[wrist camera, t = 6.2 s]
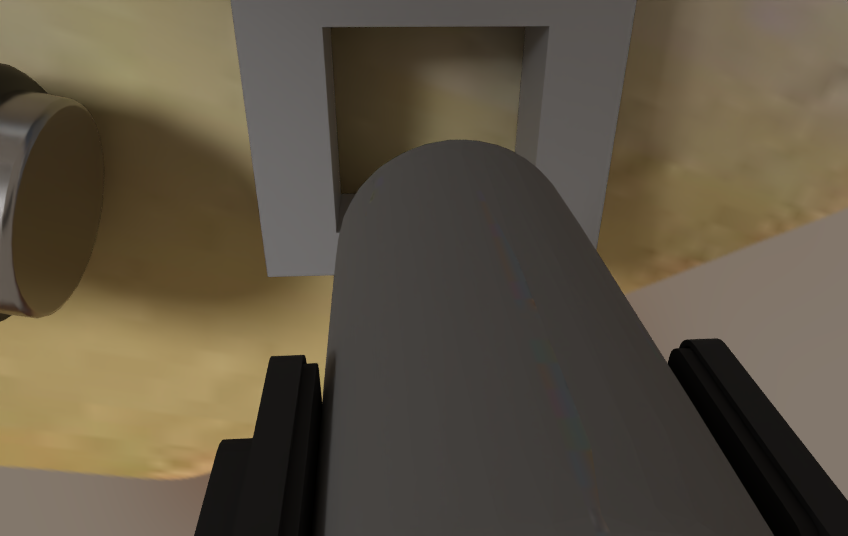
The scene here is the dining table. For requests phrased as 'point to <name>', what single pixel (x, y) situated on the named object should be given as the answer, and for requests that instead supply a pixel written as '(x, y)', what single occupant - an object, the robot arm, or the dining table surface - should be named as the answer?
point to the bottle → (500, 372)
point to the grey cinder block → (420, 7)
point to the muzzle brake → (45, 195)
